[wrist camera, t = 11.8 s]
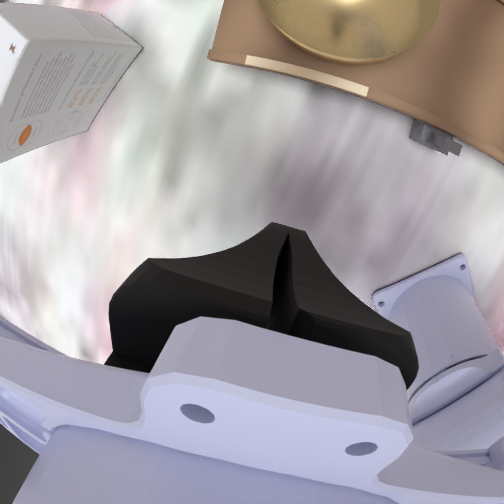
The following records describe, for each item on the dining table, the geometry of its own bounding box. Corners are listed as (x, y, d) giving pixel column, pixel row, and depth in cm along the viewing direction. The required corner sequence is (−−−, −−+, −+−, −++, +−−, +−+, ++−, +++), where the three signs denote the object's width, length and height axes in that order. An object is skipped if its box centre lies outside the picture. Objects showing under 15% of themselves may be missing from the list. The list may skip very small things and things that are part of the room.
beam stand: (472, -9, 11) (503, -24, 7) (435, 149, 17) (464, 165, 13) (446, -23, 11) (474, -43, 7) (409, 137, 17) (433, 150, 13)
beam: (599, 95, 8) (612, 98, 7) (568, 210, 13) (581, 220, 12) (256, -78, 10) (250, -91, 8) (216, 61, 15) (206, 58, 13)
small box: (100, 12, 16) (-12, -3, 7) (146, 48, 17) (29, 37, 8) (49, 94, 19) (-56, 120, 10) (87, 133, 21) (-22, 175, 11)
